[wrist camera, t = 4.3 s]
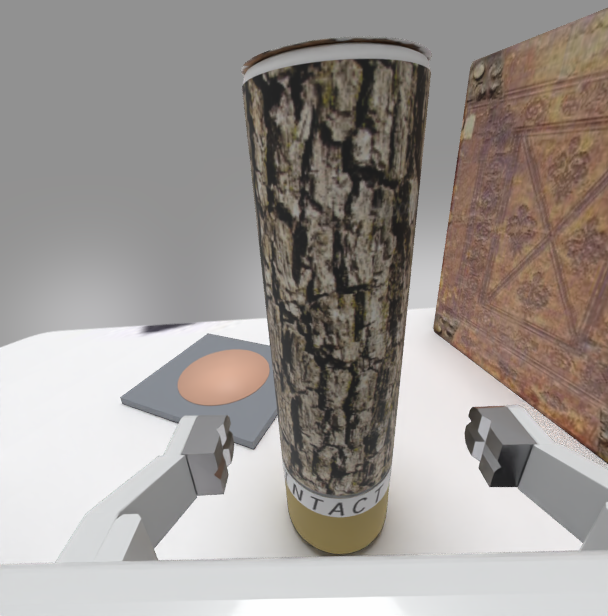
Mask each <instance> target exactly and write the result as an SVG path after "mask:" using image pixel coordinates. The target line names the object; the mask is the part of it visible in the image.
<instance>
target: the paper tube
mask: <svg viewBox="0 0 608 616" xmlns="http://www.w3.org/2000/svg"><path fill="white" fill-rule="evenodd" d="M431 57H432V53H431V51H430V50H429V49H428V48H427V47H425V46H423V45H421V44H419V43H416V42H412V41H408V40H403V39H396V38H387V37H340V38H329V39H320V40H313V41H307V42H301V43H296V44H292V45H287V46H283V47H279V48H276V49H273V50H270V51H267V52H264V53H262V54H259V55H257V56H255V57H253V58H252V59H250V60H249V61H247V62H246V63H245V64H244V65H243V66H242V69H241V72H242V75H243V76H244V80H243V86H242V91H243V99H244V109H245V117H246V127H247V137H248V146H249V154H250V164H251V172H252V183H253V192H254V201H255V209H256V219H257V229H258V238H259V247H260V256H261V265H262V275H263V284H264V292H265V303H266V311H267V321H268V330H269V339H270V349H271V358H272V367H273V376H274V385H275V395H276V404H277V413H278V422H279V432H280V441H281V450H282V459H283V468H284V476H285V483H286V493H287V502H288V510H289V514H290V517H291V520H292V523H293V525H294V527H295V528H296V530H297V531H298V533H299V534H300V535H301V536H302V538H303V539H304V540H306V541H307V542H308V543H309V544H311V545H312V546H314V547H315V548H317V549H319V550H322V551H325V552H329V553H334V554H346V553H352V552H355V551H358V550H360V549H362V548H364V547H366V546H367V545H369V544H370V543H371V542H372V541H373V540H374V539H375V538H376V537H377V536H378V534H379V533H380V531H381V529H382V527H383V524H384V521H385V518H386V512H387V502H388V492H389V482H390V476H391V466H392V456H393V446H394V436H395V426H396V416H397V406H398V396H399V386H400V376H401V366H402V356H403V346H404V336H405V326H406V316H407V306H408V295H409V286H410V276H411V265H412V256H413V246H414V236H415V225H416V216H417V206H418V195H419V186H420V176H421V166H422V156H423V146H424V136H425V127H426V117H427V106H428V97H429V86H430V76H431V72H430V66H429V63H428V62H429V60H430V59H431Z"/></svg>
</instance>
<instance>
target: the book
mask: <svg viewBox="0 0 608 616" xmlns="http://www.w3.org/2000/svg"><path fill="white" fill-rule="evenodd" d="M433 329H434V331H435V333H436V334H438V335H439V336H440V337H442V338H443V339H444V340H446V341H447V342H448V343H450V344H451V345H452V346H454V347H455V348H456V349H458V350H459V351H460V352H462V353H463V354H464V355H466V356H467V357H468V358H469V359H471V360H472V361H473V362H475V363H476V364H477V365H479V366H480V367H481V368H483V369H484V370H485V371H487V372H488V373H489V374H491V375H492V376H493V377H495V378H496V379H497V380H499V381H500V382H501V383H503V384H504V385H505V386H507V387H508V388H509V389H510V390H512V391H513V392H514V393H516V394H517V395H518V396H520V397H521V398H522V399H524V400H525V401H526V402H528V403H529V404H530V405H532V406H533V407H534V408H536V409H537V410H538V411H540V412H541V413H542V414H544V415H545V416H546V417H548V418H549V419H550V420H552V421H553V422H554V423H555V424H557V425H558V426H559V427H561V428H562V429H563V430H565V431H566V432H567V433H569V434H570V435H571V436H573V437H574V438H575V439H577V440H578V441H579V442H581V443H582V444H583V445H585V446H586V447H587V448H589V449H590V450H591V451H593V452H594V453H595V454H596V455H598V456H599V457H600V458H602V459H603V460H604V461H606V462H607V463H608V8H606V9H603V10H601V11H598V12H596V13H593V14H591V15H588V16H586V17H583V18H581V19H578V20H576V21H574V22H571V23H568V24H566V25H563V26H561V27H558V28H556V29H553V30H551V31H548V32H546V33H543V34H541V35H538V36H536V37H533V38H531V39H528V40H526V41H523V42H521V43H518V44H516V45H513V46H511V47H508V48H506V49H503V50H501V51H498V52H496V53H493V54H491V55H488V56H486V57H483V58H481V59H478V60H476V61H473V63H472V65H471V68H470V74H469V81H468V88H467V95H466V102H465V109H464V116H463V124H462V130H461V137H460V145H459V151H458V158H457V165H456V172H455V179H454V186H453V194H452V201H451V208H450V215H449V222H448V229H447V236H446V244H445V250H444V257H443V264H442V271H441V278H440V285H439V292H438V299H437V306H436V313H435V320H434V327H433Z"/></svg>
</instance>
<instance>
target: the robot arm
mask: <svg viewBox="0 0 608 616" xmlns="http://www.w3.org/2000/svg"><path fill="white" fill-rule="evenodd" d="M469 418H470V419H471V422H470V423H469V424H468V425H467V426H466V429H465V441H466V445H467V448H468V450H469V452H470V454H471V455H472V456H473V457H474V458H476V459H477V460H478V461H480V464H479V470H480V471H481V473H482V475H483V476H484V478H485V480H486V482H487V483H488V485H489V487H518V489H519V490H520V491H521V492H522V493H524V494H525V495H526V496H527V497H528V498H530V499H531V500H532V501H533V502H534V503H536V504H537V505H538V506H539V507H540V508H542V509H543V510H544V511H545V512H546V513H548V514H549V515H550V516H551V517H552V518H554V519H555V520H556V521H557V522H558V523H560V524H561V525H562V526H563V527H564V528H566V529H567V530H568V531H569V532H570V533H572V534H573V535H574V536H575V537H576V538H578V539H579V540H580V541H581V542H582V543H583V544H582V546H581V548H580V550H579V551H538V552H496V553H454V554H413V555H370V556H326V557H282V558H239V559H195V560H158V558H157V556H156V553H155V551H154V548H155V547H156V546H157V545H158V543H159V542H160V541H161V540H162V539H163V537H164V536H165V535H166V534H167V533H168V531H169V530H170V529H171V528H172V527H173V525H174V524H175V523H176V522H177V521H178V519H179V518H180V517H181V516H182V515H183V514H184V512H185V511H186V510H187V509H188V508H189V506H190V505H191V504H192V503H193V502H194V500H195V499H196V498H197V496H201V495H218V494H224V491H225V487H226V483H227V479H228V470H227V467H228V466H229V465H230V464H231V462H232V458H233V451H234V438H233V433H232V432H231V431H229V428H230V425H231V422H230V418H229V416H228V415H199V416H183V417H182V418H181V419H180V421H179V424H178V426H177V428H176V430H175V432H174V434H173V436H172V438H171V440H170V442H169V444H168V446H167V448H166V450H165V453H164V455H163V456H158V457H156V458H155V459H154V460H153V461H151V462H150V463H149V464H148V465H146V466H145V467H144V468H143V469H141V470H140V471H139V472H137V473H136V474H135V475H134V476H132V477H131V478H130V479H129V480H127V481H126V482H125V483H124V484H122V485H121V486H120V487H119V488H117V489H116V490H115V491H113V492H112V493H111V494H110V495H108V496H107V497H106V498H105V499H103V500H102V501H101V502H100V503H98V504H97V505H96V506H95V507H93V508H92V509H91V510H90V511H88V512H87V513H86V514H85V515H84V517H83V518H82V520H81V522H80V523H79V525H78V526H77V528H76V530H75V531H74V533H73V534H72V536H71V538H70V539H69V541H68V543H67V544H66V546H65V547H64V549H63V551H62V552H61V554H60V555H59V557H58V559H57V560H56V562H55V563H19V564H0V616H608V469H606V468H605V467H603V466H601V465H599V464H597V463H595V462H594V461H592V460H590V459H588V458H586V457H584V456H583V455H581V454H579V453H577V452H575V451H573V450H571V449H570V448H568V447H566V446H564V445H562V444H556V443H555V442H554V441H553V440H552V439H551V438H550V436H549V435H548V434H547V433H546V432H545V431H544V430H543V429H542V428H541V426H540V425H539V424H538V423H537V422H536V421H535V420H534V419H533V417H532V416H531V415H530V414H529V413H528V412H527V411H526V410H525V409H524V408H523V407H522V406H520V405H508V406H487V407H472V408H471V410H470V412H469Z"/></svg>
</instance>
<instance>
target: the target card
mask: <svg viewBox="0 0 608 616" xmlns="http://www.w3.org/2000/svg"><path fill="white" fill-rule="evenodd" d="M120 398H121V401H122V404H125V405H128V406H131V407H134V408H137V409H140V410H143V411H145V412H148V413H151V414H154V415H157V416H160V417H163V418H166V419H168V420H171V421H174V422H177V423H179V421H180V419H181V418H182V417H183V416H199V415H228V416H229V418H230V422H231V425H230V428H229V431H231V432H232V433H233V438H234V442H235V443H238V444H240V445H243V446H246V447H249V448H252V449H254V448H255V447H256V445H257V444H258V442H259V441H260V440H261V438H262V437H263V435H264V434H265V432H266V431H267V429H268V428H269V426H270V425H271V423H272V422H273V420H274V419H275V418H276V416H277V415H278V413H277V404H276V395H275V385H274V376H273V367H272V358H271V349H270V346H268V345H263V344H258V343H253V342H248V341H243V340H238V339H233V338H228V337H223V336H218V335H213V334H207V335H205V336H204V337H203V338H201V339H200V340H198V341H197V342H196V343H194V344H193V345H192V346H190V347H189V348H187V349H186V350H185V351H183V352H182V353H181V354H179V355H178V356H176V357H175V358H174V359H172V360H171V361H170V362H168V363H167V364H165V365H164V366H163V367H161V368H160V369H159V370H157V371H156V372H155V373H153V374H152V375H150V376H149V377H148V378H146V379H145V380H144V381H142V382H141V383H139V384H138V385H137V386H135V387H134V388H133V389H131V390H130V391H128V392H127V393H126V394H124V395H123V396H122V397H120Z"/></svg>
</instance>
